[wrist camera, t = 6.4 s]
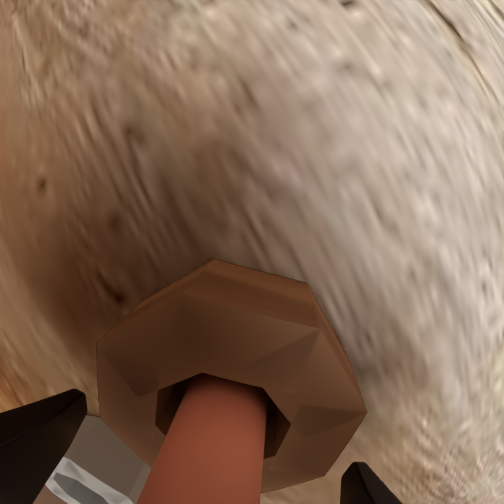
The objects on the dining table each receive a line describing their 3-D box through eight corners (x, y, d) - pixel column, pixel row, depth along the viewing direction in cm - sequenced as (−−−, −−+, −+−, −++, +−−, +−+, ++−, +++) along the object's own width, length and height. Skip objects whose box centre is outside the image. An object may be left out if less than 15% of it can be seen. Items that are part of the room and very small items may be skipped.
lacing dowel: (259, 396, 13) (238, 575, 4) (197, 380, 13) (128, 547, 4) (277, 345, 12) (270, 551, 3) (208, 327, 12) (118, 513, 4)
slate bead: (180, 500, 16) (167, 540, 12) (87, 479, 17) (68, 509, 13) (134, 422, 14) (107, 469, 10) (35, 402, 15) (5, 433, 11)
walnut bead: (299, 446, 13) (301, 504, 10) (135, 404, 14) (105, 453, 10) (367, 297, 11) (402, 344, 8) (151, 242, 12) (99, 266, 8)
